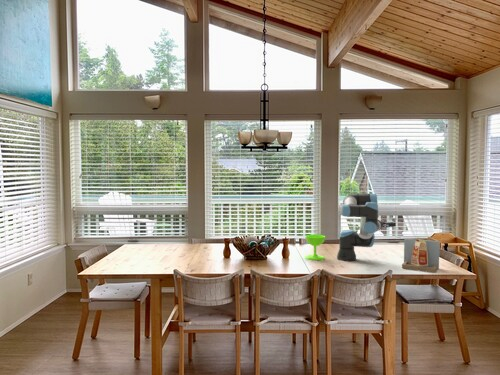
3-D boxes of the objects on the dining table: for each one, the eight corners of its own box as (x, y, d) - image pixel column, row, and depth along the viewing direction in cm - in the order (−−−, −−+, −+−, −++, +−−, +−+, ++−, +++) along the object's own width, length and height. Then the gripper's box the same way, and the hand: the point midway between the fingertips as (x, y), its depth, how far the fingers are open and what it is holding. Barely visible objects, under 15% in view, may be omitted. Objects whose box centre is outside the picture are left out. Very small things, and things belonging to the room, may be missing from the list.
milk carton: (418, 266, 279) (419, 238, 280) (410, 263, 288) (411, 236, 288) (429, 266, 281) (430, 238, 282) (420, 263, 290) (421, 236, 291)
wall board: (400, 268, 285) (401, 241, 284) (404, 264, 297) (404, 238, 297) (436, 272, 272) (437, 244, 271) (438, 268, 285) (439, 241, 284)
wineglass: (311, 260, 306) (311, 238, 306) (301, 256, 321) (301, 235, 321) (328, 259, 312) (329, 237, 312) (318, 255, 327) (318, 234, 327)
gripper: (356, 229, 261) (364, 226, 279) (395, 232, 248) (401, 229, 266) (356, 218, 260) (364, 215, 279) (395, 221, 247) (401, 218, 266)
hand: (382, 222), depth 272 cm, fingers open, 13 cm apart
